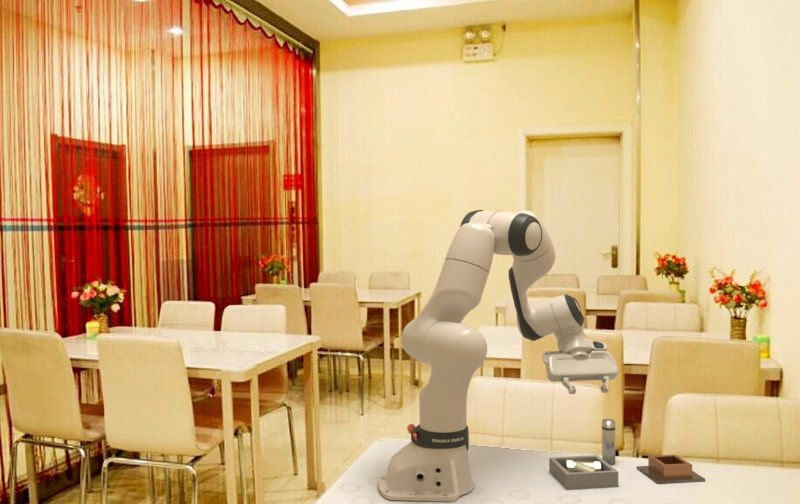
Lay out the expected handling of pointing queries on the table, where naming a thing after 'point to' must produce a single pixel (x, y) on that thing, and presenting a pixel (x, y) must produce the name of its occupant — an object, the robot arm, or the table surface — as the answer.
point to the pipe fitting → (582, 466)
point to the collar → (669, 470)
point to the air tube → (608, 441)
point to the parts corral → (583, 473)
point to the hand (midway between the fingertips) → (589, 392)
